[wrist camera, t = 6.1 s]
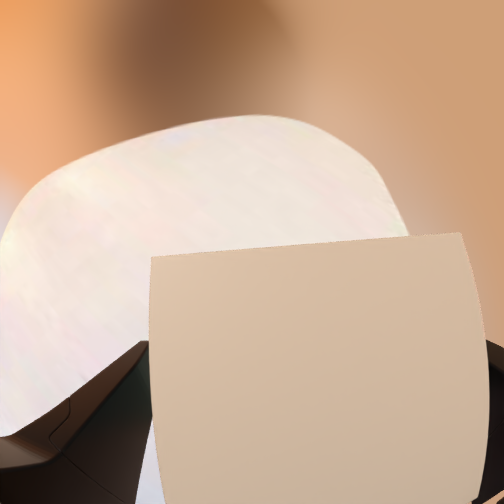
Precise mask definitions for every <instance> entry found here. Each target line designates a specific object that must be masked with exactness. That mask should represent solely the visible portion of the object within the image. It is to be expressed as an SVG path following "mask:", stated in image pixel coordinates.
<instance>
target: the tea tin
mask: <svg viewBox="0 0 504 504" xmlns="http://www.w3.org/2000/svg"><path fill="white" fill-rule="evenodd" d="M483 325H484V324H483V319H482V313H481V307H480V302H479V298H478V293H477V289H476V284H475V280H474V276H473V272H472V268H471V265H470V261H469V258H468V254H467V251H466V248H465V244H464V242H463V238H462V235H461V233H460V232H458V233H444V234H431V235H418V236H405V237H392V238H379V239H366V240H353V241H340V242H328V243H315V244H302V245H290V246H278V247H265V248H253V249H241V250H229V251H216V252H204V253H192V254H181V255H169V256H157V257H151V273H150V296H149V365H150V387H151V402H152V414H153V425H154V434H155V443H156V450H157V458H158V464H159V471H160V477H161V483H162V488H163V493H164V498H165V503H166V504H468V503H469V502H471V501H473V500H474V499H476V498H477V497H478V494H479V490H480V485H481V480H482V475H483V469H484V463H485V456H486V448H487V439H488V426H489V371H488V357H487V347H486V339H485V331H484V326H483Z"/></svg>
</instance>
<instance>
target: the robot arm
mask: <svg viewBox="0 0 504 504" xmlns="http://www.w3.org/2000/svg"><path fill="white" fill-rule="evenodd" d="M486 347H487V357H488V371H489V426H488V439H487V448H486V456H485V463H484V469H483V475H482V480H481V485H480V490H479V494H478V497H477V498H476V499H474V500H473V501H471V502H472V504H483V503H484V502H486V501H488V500H489V499H491V498H492V497H494V496H495V495H497V494H498V493H500V492H501V491H503V490H504V348H503V347H501V346H499V345H497V344H495V343H492V342H490V341H488V340H486ZM152 417H153V414H152V402H151V387H150V365H149V341H140V342H138V343H137V344H136V345H135V346H133V347H132V348H131V349H130V350H128V351H127V352H126V353H124V354H123V355H122V356H121V357H119V358H118V359H117V360H115V361H114V362H113V363H112V364H110V365H109V366H108V367H106V368H105V369H104V370H103V371H101V372H100V373H99V374H97V375H96V376H95V377H94V378H92V379H91V380H90V381H88V382H87V383H86V384H85V385H83V386H82V387H81V388H79V389H78V390H77V391H76V392H74V393H73V394H72V395H70V397H68V398H66V399H65V400H64V401H63V402H61V403H60V404H59V405H57V406H56V407H55V408H53V409H52V410H50V411H49V412H47V413H46V414H44V415H43V416H41V417H40V418H38V419H37V420H35V421H34V422H32V423H30V424H29V425H27V426H25V427H24V428H22V429H21V430H19V431H17V432H16V433H14V434H12V435H9V436H5V437H0V504H135V501H136V495H137V489H138V484H139V478H140V473H141V468H142V463H143V458H144V453H145V448H146V444H147V439H148V435H149V430H150V426H151V421H152ZM497 504H504V497H503V498H502V499H500V500H499V501H498V502H497Z"/></svg>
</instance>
